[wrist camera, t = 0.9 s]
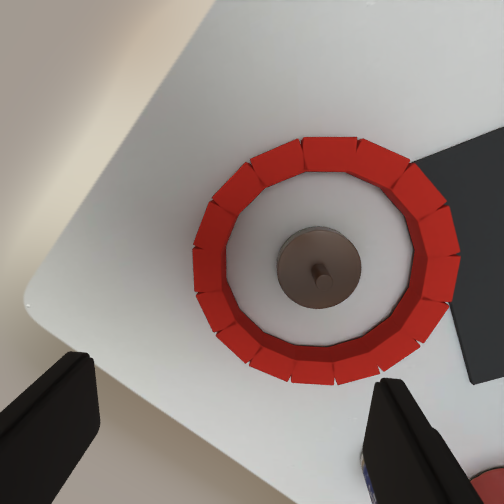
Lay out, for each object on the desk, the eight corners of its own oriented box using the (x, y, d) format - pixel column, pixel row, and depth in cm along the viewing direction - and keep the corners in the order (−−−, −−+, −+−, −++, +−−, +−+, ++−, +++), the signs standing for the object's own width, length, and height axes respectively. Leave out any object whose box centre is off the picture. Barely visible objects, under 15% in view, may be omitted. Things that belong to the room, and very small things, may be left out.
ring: (161, 198, 24) (150, 201, 22) (405, 93, 20) (420, 85, 18) (251, 391, 28) (249, 409, 26) (466, 330, 25) (484, 345, 23)
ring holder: (265, 243, 24) (264, 257, 20) (342, 214, 23) (356, 223, 19) (292, 311, 26) (296, 335, 22) (366, 286, 25) (383, 308, 21)
